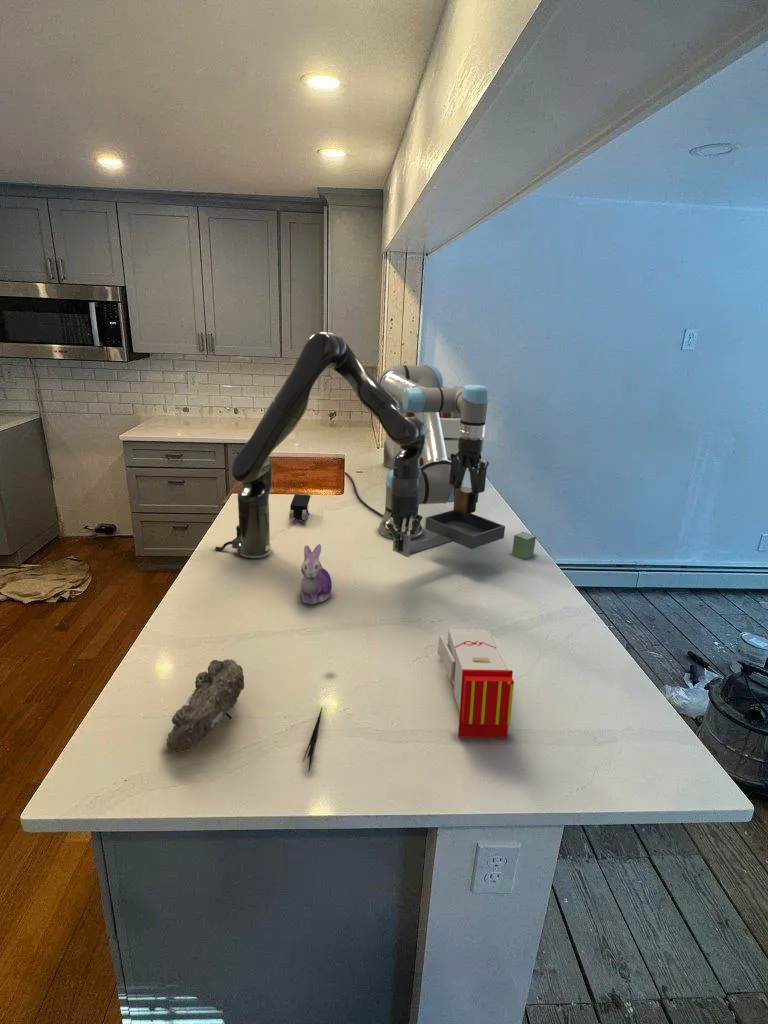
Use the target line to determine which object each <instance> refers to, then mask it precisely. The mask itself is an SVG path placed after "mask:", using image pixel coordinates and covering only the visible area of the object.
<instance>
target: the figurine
mask: <svg viewBox="0 0 768 1024" xmlns="http://www.w3.org/2000/svg"><path fill="white" fill-rule="evenodd" d="M321 551H322V544H320V543H319V544H317V545H316V546H315V548H314V549H313V551H312V550H311V547H310V546H309V545H308V544H306V545H305V546H304V547H303V555H304V560H303V561H302V564H301V567H300V572H301V574H302V575H303V576H302V578H301V580H300V589H301V602H302V603H304V604H308V605H315V604H317V603H323V602H325V601H327V600H328V599H330V597H331V595H332V588H333V584H332V582H333V581H332V577H331V575H330V573H329V572H328V570H327V569H325V568H324V567H323V565H322V563H321V561H320V555H321Z"/></svg>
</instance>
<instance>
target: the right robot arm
mask: <svg viewBox="0 0 768 1024" xmlns="http://www.w3.org/2000/svg"><path fill="white" fill-rule="evenodd" d="M377 382H378V383H379V384H380V385H381V386H382V387H383V388H384V389H385V390H386V391H387V392H388V393H389V394H390V395H391V396H392V397H393V398H396V399H398V400H400V401H401V402H403V407H404V409H405V411H406V412H413V413H415V416H416V417H418V418H419V419H421V420H422V421H423V423H424V425H425V428H426V438H425V443H424V447H423V451H422V456H423V462H424V465H423V466H420V469H419V496H418V508H417V509H416V513H417V514H419V507H420V505H429V504H430V505H431V504H433V505H434V504H443V505H445V504H448V503H449V504H450V503H454V496H455V489H457V488H461V487H464V486H463V481H464V478H465V475H466V472H467V471H468V472H469V479H470V488H471V490H472V492H470V493H469V503H468V513H472V514H474V513H475V512H476V510H475V506H476V507H477V503H478V501H479V494H482V493H484V492H485V491H486V490H485V489H486V479H487V471H488V467H489V465H490V462H489V461H487V460H486V461H485V460H484V459H483V457H482V451H484V437H485V431H486V430H485V429H486V421H487V412H488V404H489V388H488V387H487V386H486V385H481V384H466V385H464V386H458V385H454V386H451V387H447V388H443V387H444V379H443V374H442V373H441V370H439V368H438V367H436V366H434V365H428V364H423V365H404V364H397V365H392V366H389V367H386V369H384V370H383V371H382V372H381V373H380V375H379V377H378V380H377ZM439 412H458V413H461V419H460V431H459V435H460V436H461V437H459V440H458V449H459V451H458V453H453V454H451V455H450V457H451V461H449V460H448V459H447V454H446V449H445V443H444V438H443V433H442V428H441V422H440V417H439ZM459 460H460V462H459ZM458 468H459V469H458ZM344 475H346V476H347V477H348V479H349V480H350V482H351V484H352V487H353V490H354V493H355V496H356V497H357V500H359V501H360V503H362V504H363V505H364V506H365V507H366V508H367V509H369V510H370V511H371V512H374V513H375V514H376V515H378V516H380V517H382V519H381V522H379V527H378V533H379V534H380V535H381V536H382V537H385V538H387V539H389V540H393V538H392V537H390V536H389V534H388V532H387V530H386V529H385V527H384V525H383V522H384V521H386V522H387V521H388V520H389V519H390V515H391V513H392V509H391V506H390V503H391V484H392V478H393V469H392V470H390V469H389V470H388V472H387V475H386V480H385V481H386V482H385V504H384V505H385V507H384V508H385V509H384V513H383V514H382V513H381V512H379V511H378V510H376V509H374V508H373V507H371V506H370V505H368V504H367V503H366V502H365V501H363V499H362V498H361V497H360V495H359V493H358V491H357V488H356V485H355V482H354V480H353V478H352V476H351V475H350V474H348V473H347V472H346V471H344ZM421 522H422V521H421ZM421 522H420V524H419V526H418V528H417V529H416V531H415V533H414V535H410V537H411V540H415V539H418V538H420V537H421V536H422V535H423V525H422V524H421ZM393 524H394V523H393ZM412 528H413V526H412ZM405 531H406V530H405Z"/></svg>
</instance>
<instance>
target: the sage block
mask: <svg viewBox="0 0 768 1024" xmlns="http://www.w3.org/2000/svg"><path fill="white" fill-rule="evenodd" d="M536 540H537V536H536V535H534V534H532V533H528V532H526V531H521V532H518V533H515V534H514V535H513V543H512V550H511V555H512V556H515V557H517V558H519V559H522V560H526V559H529V558H532V557H534V554H535V547H536Z"/></svg>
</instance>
